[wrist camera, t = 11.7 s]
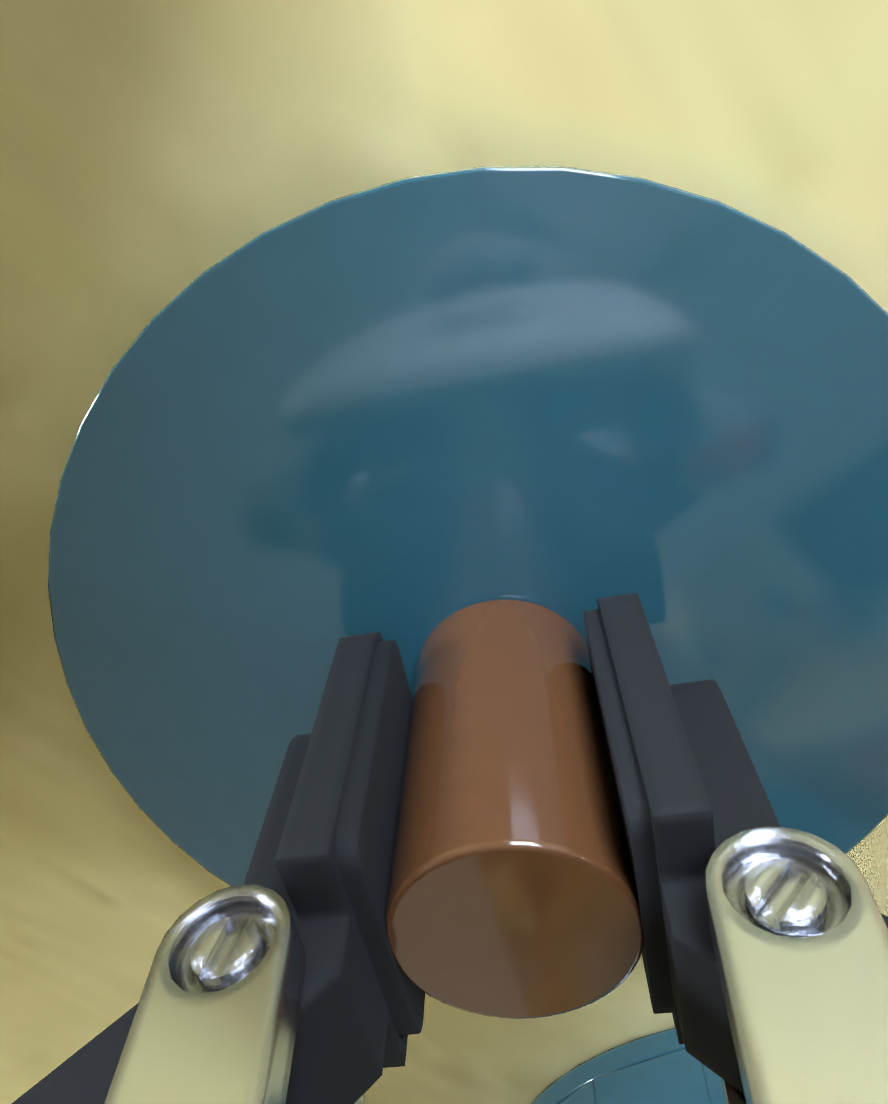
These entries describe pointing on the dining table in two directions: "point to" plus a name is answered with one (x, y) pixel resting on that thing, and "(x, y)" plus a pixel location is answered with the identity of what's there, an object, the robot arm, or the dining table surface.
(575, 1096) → the jar
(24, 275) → the dining table surface
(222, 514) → the jar lid
